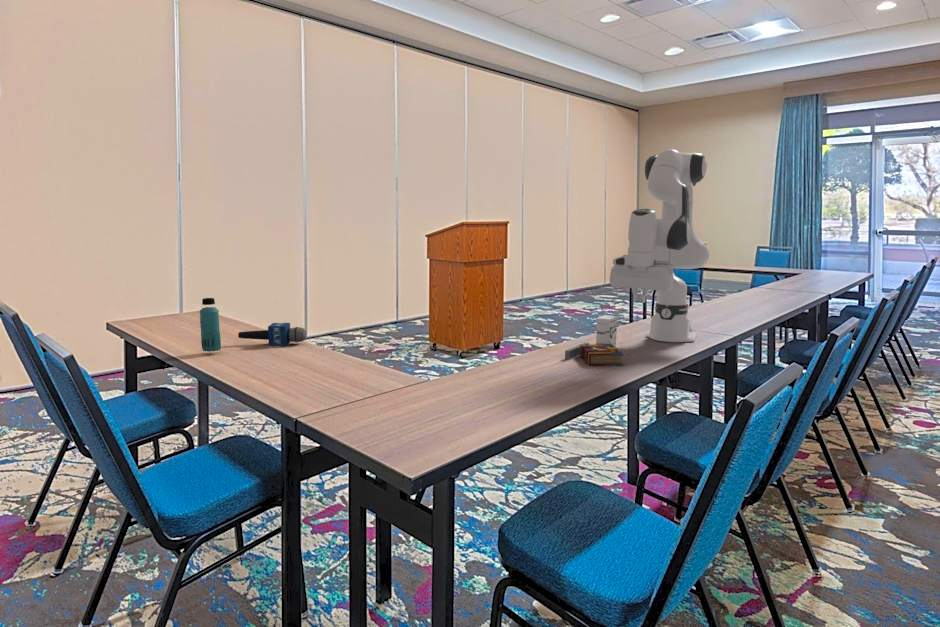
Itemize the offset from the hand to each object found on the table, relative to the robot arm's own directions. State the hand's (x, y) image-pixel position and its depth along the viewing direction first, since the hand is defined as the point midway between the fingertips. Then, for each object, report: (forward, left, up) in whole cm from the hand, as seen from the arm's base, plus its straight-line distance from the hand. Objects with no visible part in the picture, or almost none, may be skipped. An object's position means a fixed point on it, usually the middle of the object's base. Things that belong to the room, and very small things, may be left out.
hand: (640, 302), depth 205 cm
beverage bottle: (+73, -129, -21) cm, 150 cm away
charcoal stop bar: (0, -22, -21) cm, 30 cm away
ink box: (-16, -18, -21) cm, 32 cm away
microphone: (+50, -125, -21) cm, 136 cm away
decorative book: (+3, -12, -21) cm, 24 cm away
